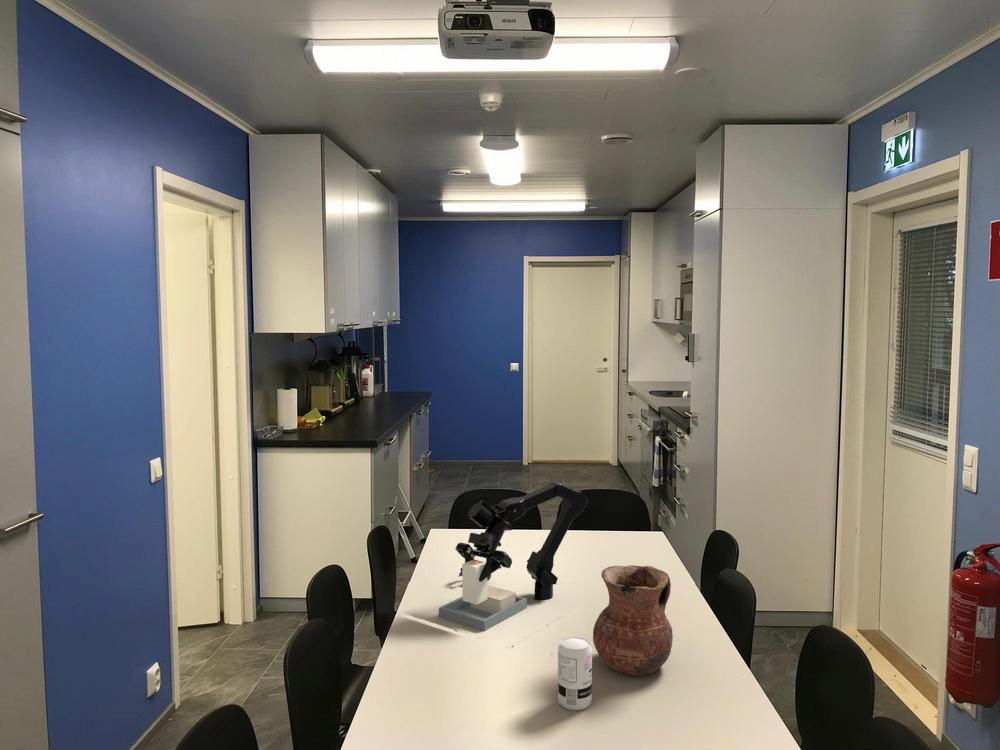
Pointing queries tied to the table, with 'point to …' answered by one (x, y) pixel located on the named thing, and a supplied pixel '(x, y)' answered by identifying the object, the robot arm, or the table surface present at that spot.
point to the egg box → (496, 600)
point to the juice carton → (474, 582)
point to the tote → (479, 613)
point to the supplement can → (574, 673)
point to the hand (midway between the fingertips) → (472, 579)
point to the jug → (634, 620)
